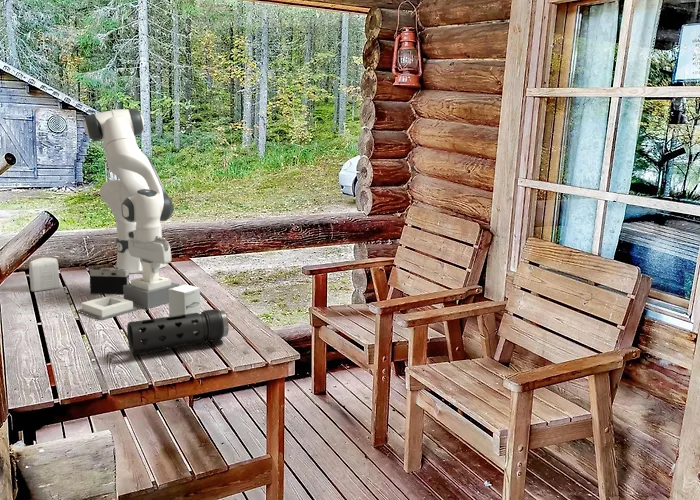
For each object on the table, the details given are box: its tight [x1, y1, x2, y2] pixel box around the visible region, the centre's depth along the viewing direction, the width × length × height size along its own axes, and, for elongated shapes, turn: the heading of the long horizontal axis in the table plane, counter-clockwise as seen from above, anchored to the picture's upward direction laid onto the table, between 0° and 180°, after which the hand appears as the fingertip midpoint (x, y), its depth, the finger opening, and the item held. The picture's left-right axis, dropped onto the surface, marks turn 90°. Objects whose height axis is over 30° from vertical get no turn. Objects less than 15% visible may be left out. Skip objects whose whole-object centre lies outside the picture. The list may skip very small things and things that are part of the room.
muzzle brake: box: [126, 308, 230, 356], centre depth 176 cm, size 10×28×10 cm, turn 121°
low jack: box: [77, 294, 138, 321], centre depth 206 cm, size 14×14×3 cm
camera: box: [89, 266, 130, 296], centre depth 227 cm, size 14×9×10 cm, turn 86°
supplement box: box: [168, 283, 201, 317], centre depth 195 cm, size 7×7×13 cm
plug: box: [142, 259, 160, 283], centre depth 217 cm, size 4×4×10 cm
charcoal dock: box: [123, 275, 180, 310], centre depth 218 cm, size 14×14×8 cm
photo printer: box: [28, 257, 60, 292], centre depth 227 cm, size 10×4×12 cm, turn 134°
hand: (150, 271), depth 217 cm, fingers open, 4 cm apart
